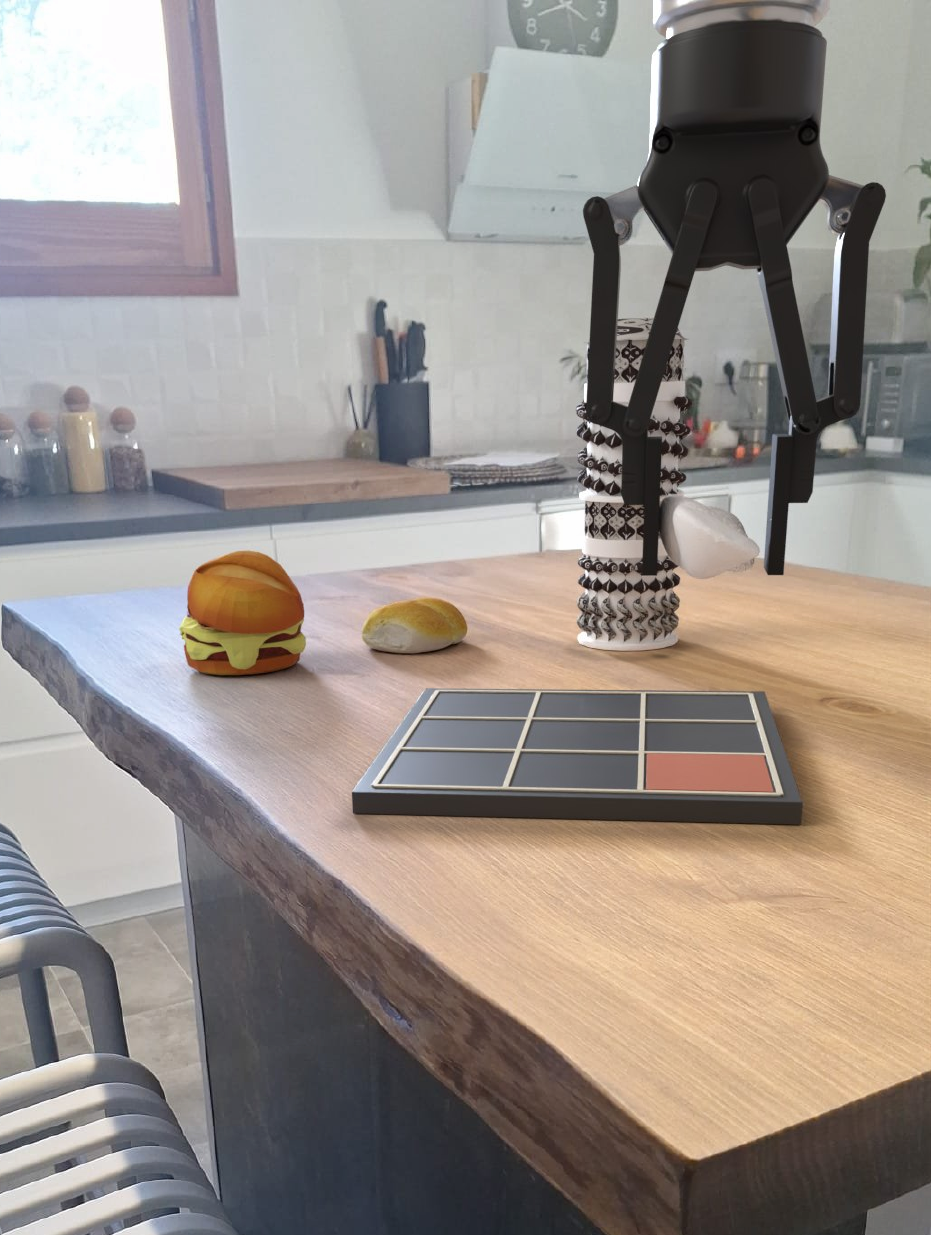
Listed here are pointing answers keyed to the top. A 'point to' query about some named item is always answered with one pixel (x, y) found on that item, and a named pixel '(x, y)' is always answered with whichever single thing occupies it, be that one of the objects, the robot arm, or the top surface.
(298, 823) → the top surface
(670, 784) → the board
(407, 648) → the bread roll
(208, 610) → the cheeseburger
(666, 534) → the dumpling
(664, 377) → the decorative candle
